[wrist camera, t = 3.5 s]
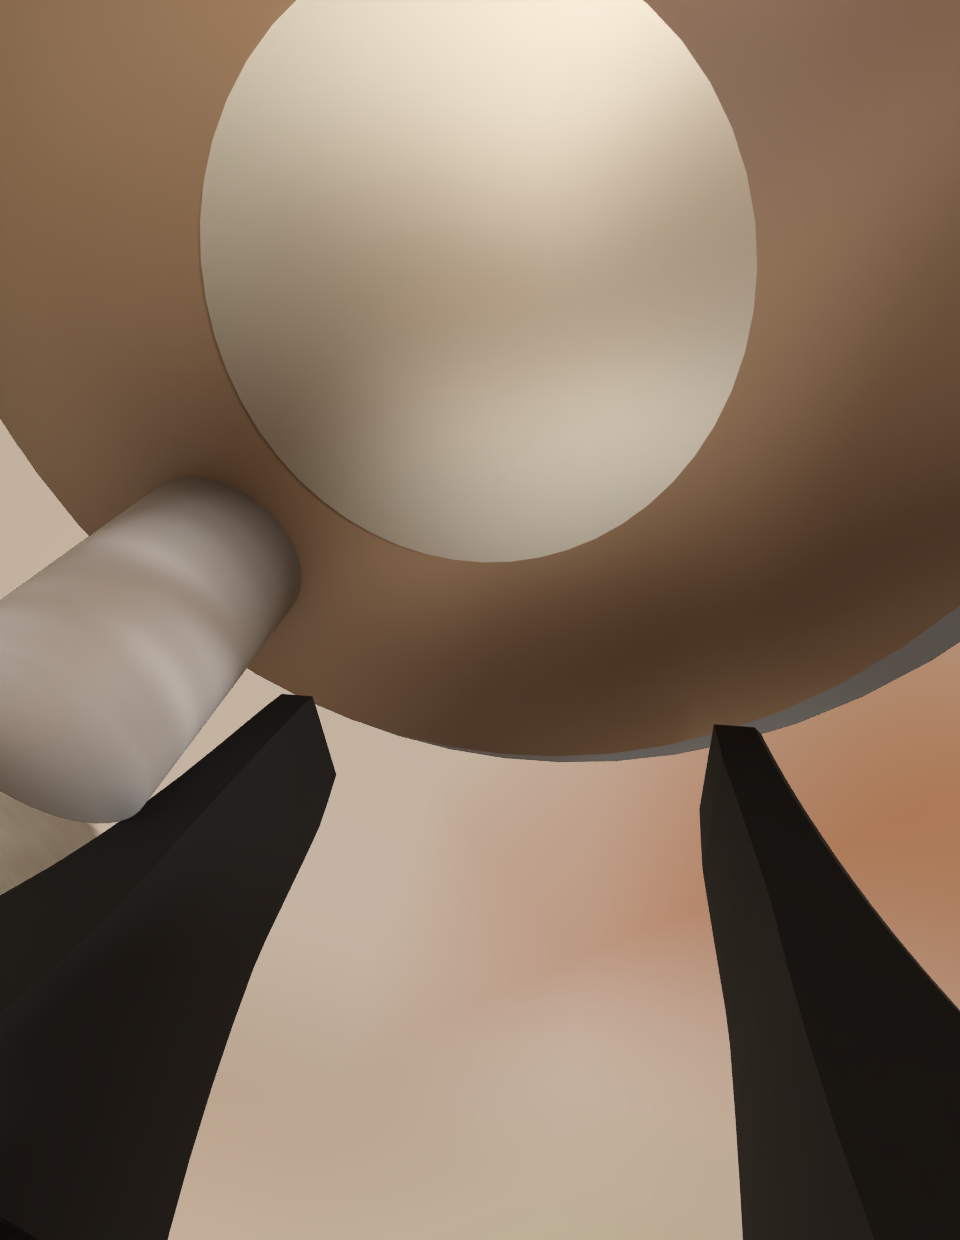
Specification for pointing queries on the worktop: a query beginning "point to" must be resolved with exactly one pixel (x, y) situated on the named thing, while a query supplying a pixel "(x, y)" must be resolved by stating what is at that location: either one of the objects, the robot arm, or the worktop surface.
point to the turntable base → (895, 665)
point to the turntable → (471, 366)
